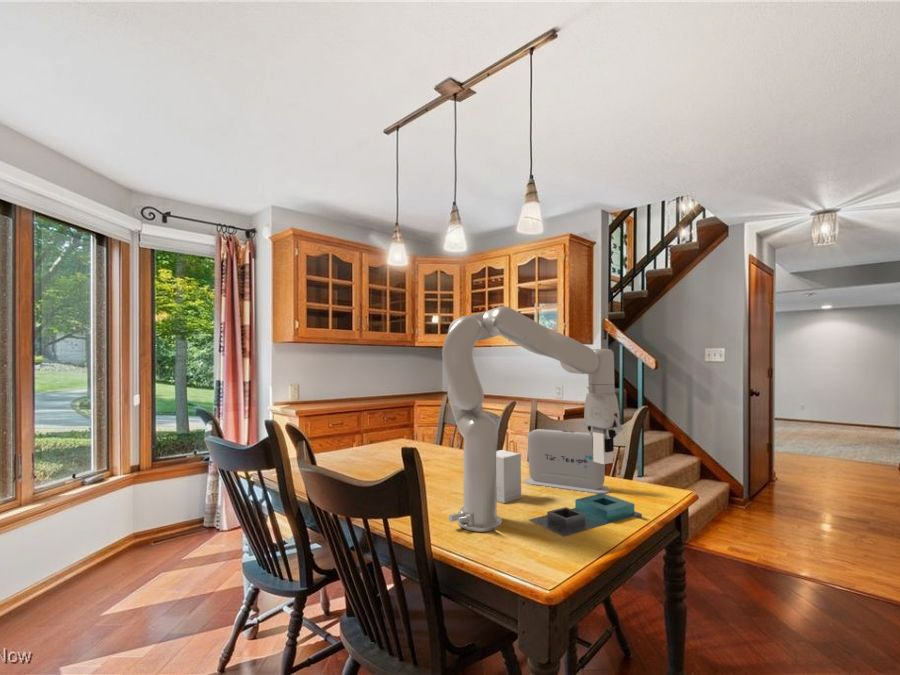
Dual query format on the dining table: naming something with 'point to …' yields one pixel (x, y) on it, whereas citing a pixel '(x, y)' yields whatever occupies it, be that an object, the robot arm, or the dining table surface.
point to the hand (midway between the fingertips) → (602, 449)
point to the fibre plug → (600, 447)
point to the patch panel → (587, 514)
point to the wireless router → (564, 461)
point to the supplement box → (508, 476)
